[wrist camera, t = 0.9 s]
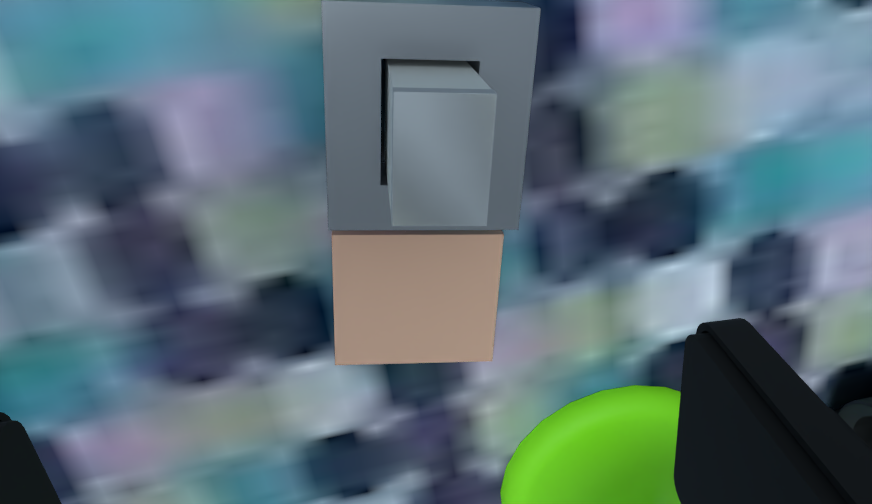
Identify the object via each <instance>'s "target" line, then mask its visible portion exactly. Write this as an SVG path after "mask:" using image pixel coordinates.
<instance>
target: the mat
mask: <svg viewBox="0 0 872 504" xmlns="http://www.w3.org/2000/svg"><path fill="white" fill-rule="evenodd" d="M503 238H504V234H503V232H502V230H347V231H332V265H333V301H334V337H335V365H361V364H401V363H440V362H479V361H492V358H493V347H494V336H495V325H496V314H497V303H498V292H499V281H500V270H501V260H502V249H503Z"/></svg>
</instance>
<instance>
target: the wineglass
mask: <svg viewBox="0 0 872 504" xmlns="http://www.w3.org/2000/svg"><path fill="white" fill-rule="evenodd" d="M680 395H681V392H679V391H676V390H673V389H670V388H667V387H654V386H637V385H633V386H627V387H621V388H615V389H609V390H603V391H599V392H597V393H594V394H592V395H589V396H586V397H584V398H581V399H579V400H576V401H574V402H571V403H569V404H567V405H566V406H564V407H563V408H561V409H560V410H558V411H556V412H555V413H553V414H552V415H550V416H549V417H547V418H546V419H544V420H543V421H541V422H540V423H539V424H538V425H537V426H536V427H535V428H534V429H533V430H532V432H531V433H530V434H529V435H528V436H527V437H526V438H525V439H524V440H523V441H522V442H521V443H520V444H519V446H518V448H517V449H516V451H515V453H514V455H513V456H512V458H511V460H510V461H509V463H508V465H507V467H506V470H505V474H504V478H503V483H502V487H501V491H500V492H501V502H502V504H681V502H680V500H679V498H678V495H677V492H676V488H675V484H674V464H675V453H676V441H677V430H678V418H679V407H680Z"/></svg>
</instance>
